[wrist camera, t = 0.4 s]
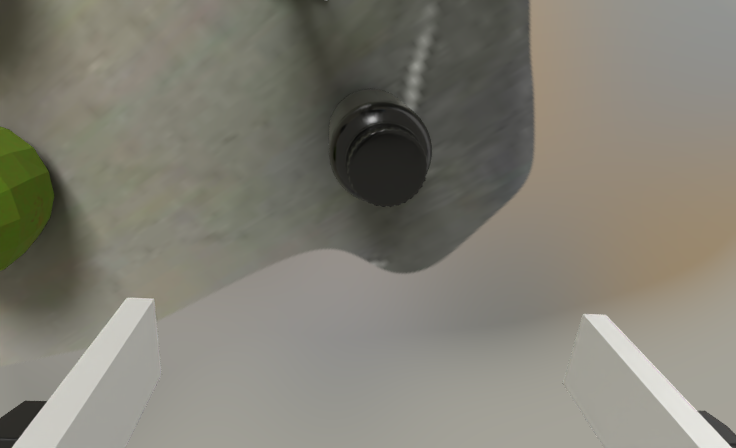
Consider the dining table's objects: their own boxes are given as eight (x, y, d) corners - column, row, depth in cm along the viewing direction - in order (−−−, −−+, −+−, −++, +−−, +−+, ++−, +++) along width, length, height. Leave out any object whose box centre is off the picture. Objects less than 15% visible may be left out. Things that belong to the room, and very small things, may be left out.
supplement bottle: (361, 186, 41) (372, 244, 30) (311, 121, 38) (302, 158, 27) (428, 138, 40) (465, 180, 28) (381, 68, 37) (401, 84, 26)
